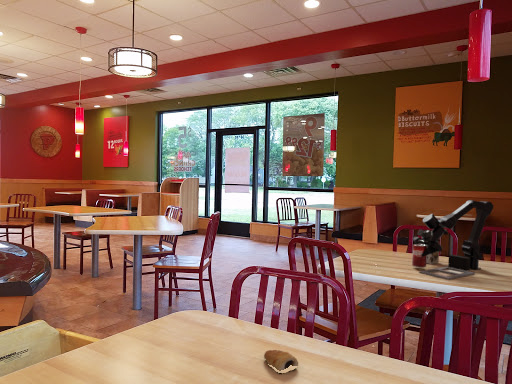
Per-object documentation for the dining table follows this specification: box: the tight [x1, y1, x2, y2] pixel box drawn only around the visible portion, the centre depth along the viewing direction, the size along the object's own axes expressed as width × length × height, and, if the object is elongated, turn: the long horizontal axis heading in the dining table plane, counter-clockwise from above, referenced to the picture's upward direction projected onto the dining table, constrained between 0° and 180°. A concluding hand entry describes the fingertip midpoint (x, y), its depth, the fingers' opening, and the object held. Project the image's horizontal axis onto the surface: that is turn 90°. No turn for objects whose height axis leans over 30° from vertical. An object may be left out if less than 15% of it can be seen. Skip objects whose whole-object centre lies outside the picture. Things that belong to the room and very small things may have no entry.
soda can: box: [411, 243, 427, 269], centre depth 214 cm, size 7×7×12 cm
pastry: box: [263, 349, 299, 371], centre depth 96 cm, size 9×7×4 cm
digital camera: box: [447, 254, 471, 271], centre depth 219 cm, size 10×5×7 cm, turn 34°
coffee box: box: [422, 237, 441, 265], centre depth 232 cm, size 9×6×16 cm
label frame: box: [418, 266, 476, 281], centre depth 205 cm, size 26×16×1 cm, turn 125°
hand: (417, 254), depth 213 cm, fingers closed on soda can, 7 cm apart
